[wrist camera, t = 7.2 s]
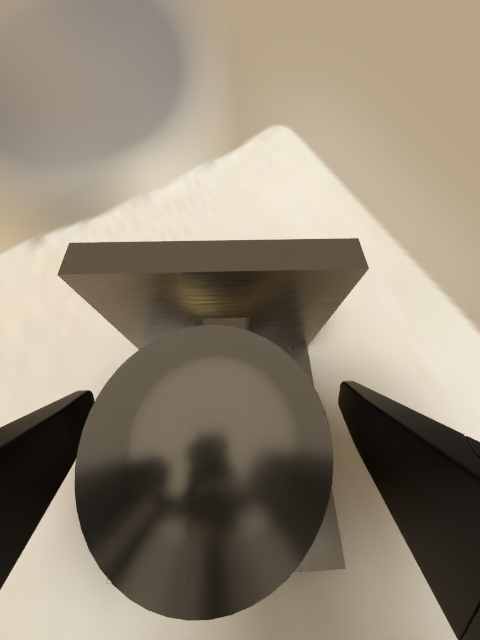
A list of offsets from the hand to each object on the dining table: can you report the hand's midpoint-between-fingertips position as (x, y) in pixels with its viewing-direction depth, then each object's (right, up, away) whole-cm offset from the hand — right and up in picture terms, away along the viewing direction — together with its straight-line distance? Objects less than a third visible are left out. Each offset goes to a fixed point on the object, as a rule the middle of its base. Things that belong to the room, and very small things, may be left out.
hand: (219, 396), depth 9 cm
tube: (0, -5, +6) cm, 8 cm away
